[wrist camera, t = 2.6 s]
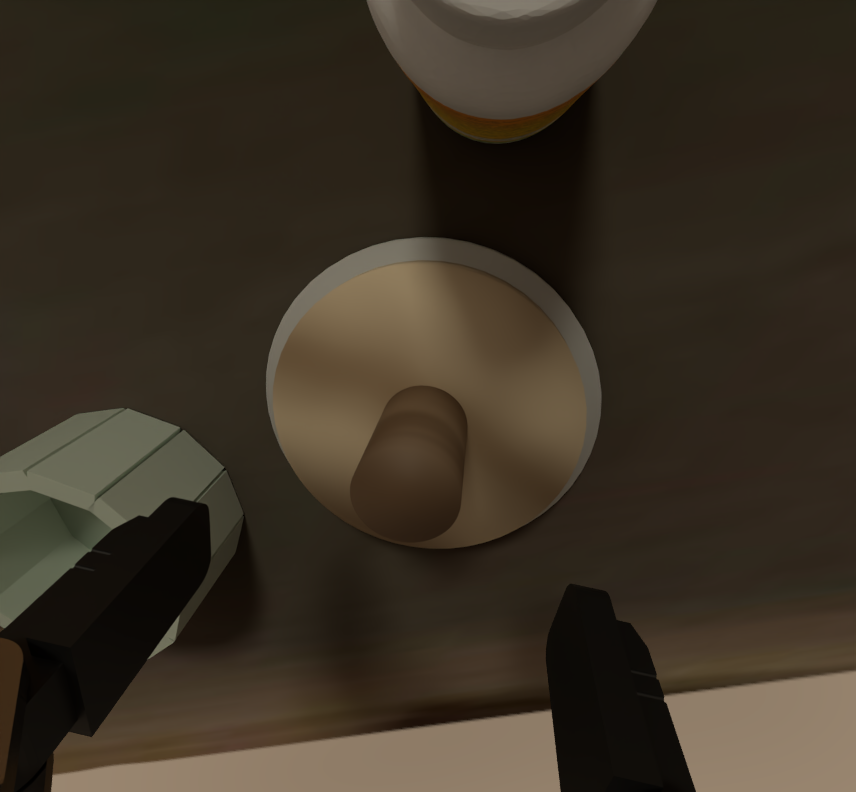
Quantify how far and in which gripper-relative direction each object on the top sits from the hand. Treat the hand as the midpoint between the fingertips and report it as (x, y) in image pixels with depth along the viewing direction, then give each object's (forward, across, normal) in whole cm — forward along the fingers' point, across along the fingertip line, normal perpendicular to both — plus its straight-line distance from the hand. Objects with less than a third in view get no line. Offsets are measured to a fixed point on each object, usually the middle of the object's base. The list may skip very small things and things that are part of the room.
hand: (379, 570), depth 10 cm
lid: (+9, 0, 0) cm, 9 cm away
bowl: (+9, +13, +8) cm, 18 cm away
